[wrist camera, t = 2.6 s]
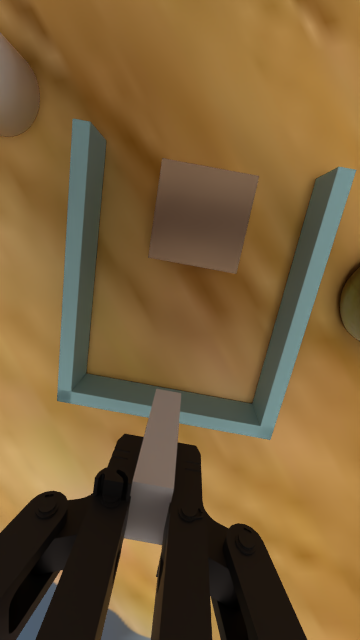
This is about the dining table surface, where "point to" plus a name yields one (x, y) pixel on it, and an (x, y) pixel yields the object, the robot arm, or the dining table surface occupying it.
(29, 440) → the dining table surface
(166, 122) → the dining table surface
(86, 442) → the dining table surface
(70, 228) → the teal u-shaped frame
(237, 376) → the dining table surface
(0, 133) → the white rounded capsule
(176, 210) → the walnut block
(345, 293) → the mug
